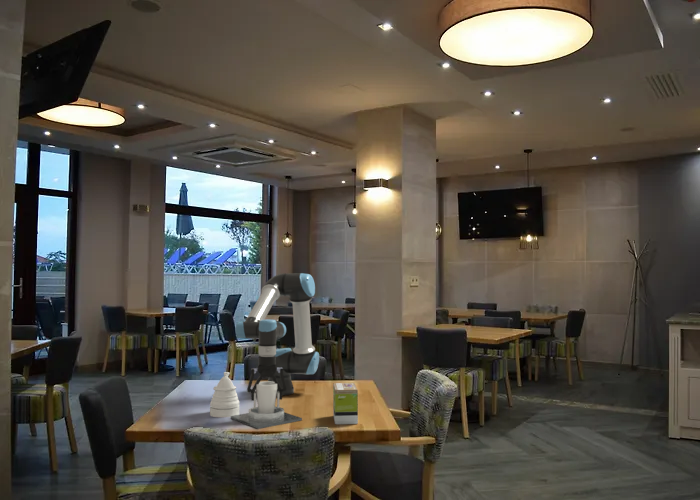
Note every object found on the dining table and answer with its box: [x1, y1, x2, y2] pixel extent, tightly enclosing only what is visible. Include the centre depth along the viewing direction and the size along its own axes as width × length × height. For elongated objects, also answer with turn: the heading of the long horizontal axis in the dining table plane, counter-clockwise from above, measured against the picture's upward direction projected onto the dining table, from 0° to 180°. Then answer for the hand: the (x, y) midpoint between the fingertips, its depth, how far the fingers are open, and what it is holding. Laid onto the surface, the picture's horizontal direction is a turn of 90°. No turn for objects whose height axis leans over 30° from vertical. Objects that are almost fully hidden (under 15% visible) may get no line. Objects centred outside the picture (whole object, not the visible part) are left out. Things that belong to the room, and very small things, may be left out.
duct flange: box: [230, 405, 303, 430], centre depth 245 cm, size 22×22×4 cm
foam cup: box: [255, 380, 278, 414], centre depth 246 cm, size 10×9×13 cm
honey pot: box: [209, 371, 240, 418], centre depth 255 cm, size 13×13×18 cm
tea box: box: [332, 382, 359, 425], centre depth 246 cm, size 15×10×15 cm, turn 5°
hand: (266, 407), depth 246 cm, fingers closed on foam cup, 9 cm apart
